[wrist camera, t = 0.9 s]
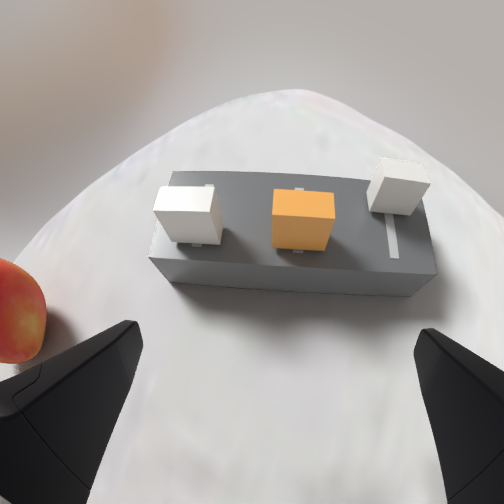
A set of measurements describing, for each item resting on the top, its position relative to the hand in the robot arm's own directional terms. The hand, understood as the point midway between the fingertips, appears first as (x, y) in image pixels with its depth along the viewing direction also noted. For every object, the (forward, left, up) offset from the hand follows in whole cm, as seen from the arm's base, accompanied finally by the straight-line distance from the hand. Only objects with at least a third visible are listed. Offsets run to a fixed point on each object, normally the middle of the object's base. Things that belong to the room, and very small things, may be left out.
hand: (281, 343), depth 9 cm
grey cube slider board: (+8, -7, -14) cm, 18 cm away
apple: (+14, +20, -15) cm, 28 cm away
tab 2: (+6, -6, -9) cm, 12 cm away
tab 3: (+5, -13, -9) cm, 17 cm away
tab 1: (+10, 0, -9) cm, 14 cm away
